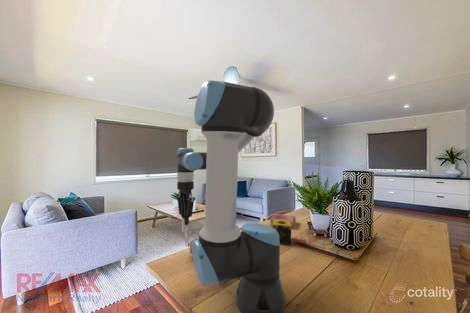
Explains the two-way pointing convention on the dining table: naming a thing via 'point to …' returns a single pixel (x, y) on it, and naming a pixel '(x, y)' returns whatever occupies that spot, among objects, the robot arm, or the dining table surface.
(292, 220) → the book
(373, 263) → the dining table surface
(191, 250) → the cam capstan
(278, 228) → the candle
